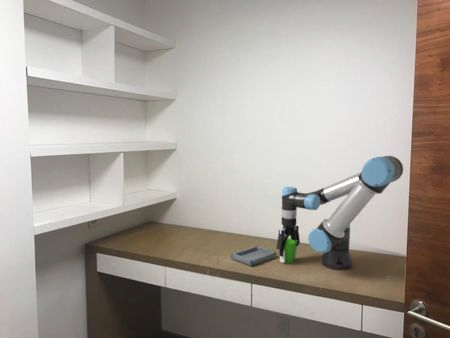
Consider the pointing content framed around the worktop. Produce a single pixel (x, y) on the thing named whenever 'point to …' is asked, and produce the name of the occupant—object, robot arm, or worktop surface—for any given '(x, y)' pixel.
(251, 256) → the grey tray
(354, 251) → the worktop surface
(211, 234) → the worktop surface
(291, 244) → the cup
